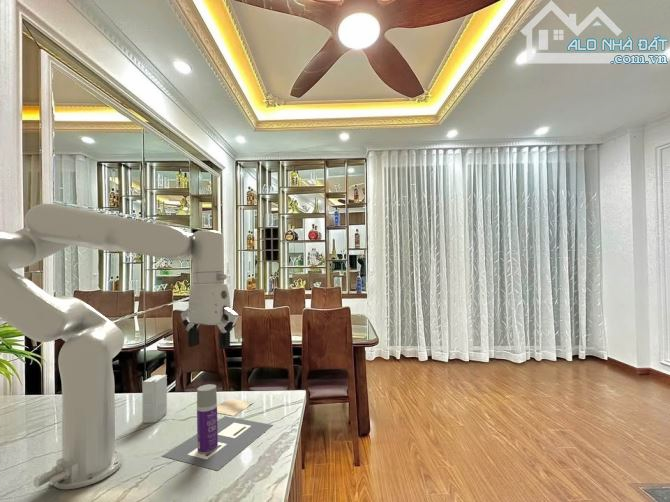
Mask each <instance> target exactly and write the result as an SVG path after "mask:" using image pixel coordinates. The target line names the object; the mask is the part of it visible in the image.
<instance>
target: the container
mask: <svg viewBox="0 0 670 502" xmlns="http://www.w3.org/2000/svg"><path fill="white" fill-rule="evenodd" d="M217 401H218V398H217V385H216V384H213V383H212V384H208V383H207V384H203V385H200V386H199V387H197V389H196V429H197V430H196V432H197V433H196V434H197V444H198V453H199V454H209V453H212V452H214V451H215V450H216V449H217V448H218V430H217V421H218V413H217V406H218V402H217Z"/></svg>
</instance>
